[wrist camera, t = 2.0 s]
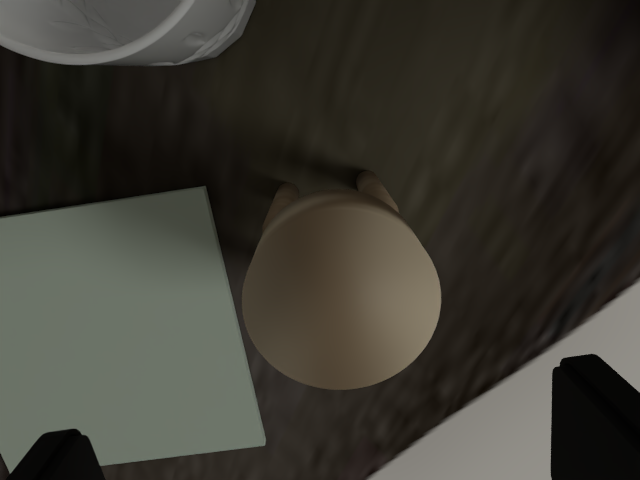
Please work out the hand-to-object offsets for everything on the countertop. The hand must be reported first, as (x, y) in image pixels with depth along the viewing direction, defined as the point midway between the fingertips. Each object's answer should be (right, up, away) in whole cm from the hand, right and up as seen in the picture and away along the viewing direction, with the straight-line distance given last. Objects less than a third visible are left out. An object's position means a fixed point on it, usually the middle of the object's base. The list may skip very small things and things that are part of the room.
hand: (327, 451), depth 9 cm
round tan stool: (+1, +5, +14) cm, 15 cm away
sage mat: (-13, -2, +16) cm, 20 cm away
